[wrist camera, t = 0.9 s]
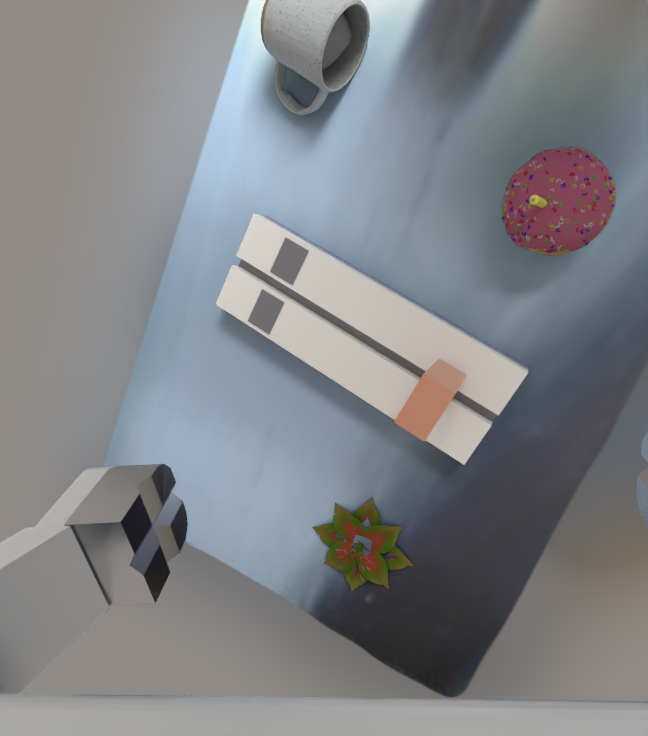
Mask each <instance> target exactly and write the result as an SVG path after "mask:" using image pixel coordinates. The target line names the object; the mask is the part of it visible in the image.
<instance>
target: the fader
mask: <svg viewBox="0 0 648 736" xmlns="http://www.w3.org/2000/svg"><path fill="white" fill-rule="evenodd" d="M465 377H466V374H464V373H463V372H461V371H459V370H458V369H456V368H454V367H453V366H451V365H449V364H448V363H446V362H444V361H443V360H441V359H438V360H437V361H436V362H435V363H434V364H433V365H432V366H431V367H430V368H429V369H428V370H427V371H426V372H425V373H424V374H423V375H422V377H421V379H420V380H419V382H418V383H417V385H416V387H415V388H414V390H413V392H412V393H411V395H410V397H409V398H408V400H407V401H406V403H405V405H404V406H403V408H402V410H401V411H400V413H399V415H398V416H397V418H396V419H395V421H394V423H396V424H397V425H399V426H400V427H402V428H403V429H405V430H406V431H408V432H409V433H411V434H412V435H414V436H416V437H417V438H419V439H420V440H422V441H423V442H425V440H426V439H427V437H428V436H429V434H430V432H431V431H432V429H433V428H434V426H435V425H436V423H437V422H438V420H439V419H440V417H441V415H442V414H443V412H444V411H445V409H446V408H447V406H448V405H449V403H450V402H451V400H452V399H453V397H454V395H455V394H456V392H457V391H458V389H459V387H460V385H461V384H462V382H463V380H464V379H465Z"/></svg>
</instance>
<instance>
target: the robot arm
mask: <svg viewBox="0 0 648 736" xmlns="http://www.w3.org/2000/svg"><path fill="white" fill-rule="evenodd" d="M641 454H642V455H643V457H644V458H645V459H646V461H647V462H648V432H647V433H646V435H645V437H644V439H643V443H642V449H641ZM175 483H176V481H175V478H174V476H173V473H172V471H171V468H170V467H168V466H166V465H164V464H152V465H131V466H115V467H112V466H110V467H96V468H90V469H87V470H84V471H83V472H82V474H81V475H80V476H79V477H78V478H77V479H76V480H75V482H74V483H73V484H72V485H71V486H70V487H69V488H68V490H67V491H66V492H65V493H64V494H63V495H62V496H61V498H60V499H59V500H58V501H57V502H56V503H55V504H54V506H53V507H52V508H51V509H50V510H49V511H48V512H47V514H46V515H45V516H44V517H43V518H42V519H41V520H40V522H39V523H38V524H37V525H36V526H35V527H31V528H26V529H24V530H22V531H20V532H18V533H17V534H15V535H13V536H11V537H10V538H8V539H6V540H5V541H3V542H1V543H0V736H648V701H647V702H646V701H645V702H644V701H568V700H565V701H564V700H486V699H484V700H481V699H410V698H407V699H406V698H404V699H403V698H333V697H331V698H329V697H327V698H325V697H255V696H253V697H252V696H175V695H168V696H167V695H94V694H19V693H20V692H22V690H24V689H25V688H26V687H27V686H28V685H29V684H30V683H31V682H32V681H33V680H34V679H35V678H36V677H37V676H38V675H40V674H41V673H42V672H43V671H44V670H45V669H46V668H47V667H48V666H49V665H50V664H51V663H52V662H53V661H55V659H57V657H59V656H60V655H61V654H62V653H63V652H64V651H65V650H66V649H67V648H68V647H69V646H70V645H72V644H73V643H74V642H75V641H76V640H77V639H78V638H79V637H80V636H81V635H82V634H83V633H84V632H85V631H86V630H87V629H88V628H90V627H91V626H92V625H93V624H94V623H95V622H96V621H97V620H98V619H99V618H100V617H101V616H102V615H103V614H104V613H105V612H107V611H108V610H109V608H110V607H109V606H115V605H135V604H136V605H137V604H155V603H156V601H157V599H158V597H159V595H160V593H161V591H162V589H163V587H164V585H165V582H166V580H167V578H168V576H169V574H170V570H169V567H168V564H167V562H168V561H170V560H171V559H172V558H173V557H175V556H176V555H177V554H178V553H180V551H181V549H182V546H183V544H184V542H185V539H186V532H187V525H188V523H187V514H186V510H185V507H184V504H183V501H182V500H181V499H179V498H178V497H177V496H176V495H175V494H173V493H172V490H173V488H174V486H175ZM637 499H638V505H639V510H640V513H641V515H642V518H643V520H644V523H645V524H646V526H647V527H648V466H647V468H645V469H644V471H642V472H641V473H640V474H639V476H638V482H637Z"/></svg>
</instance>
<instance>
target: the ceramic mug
mask: <svg viewBox="0 0 648 736" xmlns="http://www.w3.org/2000/svg"><path fill="white" fill-rule="evenodd" d="M369 30H370V21H369V14H368V11H367V8H366V6H365V5H364V4H363V3H362V2H361V1H360V0H266V1H265V4H264V7H263V11H262V17H261V34H262V40H263V43H264V45H265V47H266V49H267V50H268V52H269V53H270V54H271V55H272V56H273V57H274V58H275V59H276V60H277V61H278V62H277V65H276V70H275V88H276V91H277V94H278V97H279V99H280V101H281V102H282V104H283V105H284V106H285V107H286V108H287V109H288V110H290V111H291V112H292V113H295V114H297V115H306V114H311V113H313V112H315V111H316V110H318V109H319V108H320V107H321V106H322V104H323V102H324V101H325V99H326V97H327V95H328V93H329V92H330V93H332V92H336V91H338V90H340V89H341V88H343V87H344V86H345V85H346V84H347V83H348V82H349V81H350V79H351V78H352V76H353V75H354V73H355V72H356V70H357V68H358V67H359V64H360V62H361V60H362V58H363V55H364V52H365V50H366V47H367V42H368V37H369ZM287 67H288V68H290V69H292V70H293V71H295V72H297V73H298V74H300V75H301V76H302V77H304V78H305V79H307V80H309V81H310V82H312V83H313V84H315V85H316V86H318V87H319V93H318V95H317V96H316V98H315V100H314V101H313V103H312V104H311V105H310V106H309V107H307V108H304V107H303V106H302V105H300V104H299V103H297V102H296V101H295V100H294V99H293V97H292V96H291V95H289V94H288V92H287V88H286V77H285V76H286V69H287Z"/></svg>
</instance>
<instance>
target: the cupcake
mask: <svg viewBox="0 0 648 736" xmlns="http://www.w3.org/2000/svg"><path fill="white" fill-rule="evenodd" d="M615 200H616V191H615V184H614V181H613V178H612V176H611V175H610V173H609V172H608V170H607V169H606V167H605V166H604V164H603V163H602V162H601V161H600V160H598V159H597V158H596V157H595V156H594V155H593V154H592V153H590V152H589V151H587V150H585V149H582V148H572V147H570V148H564V147H560V149H552V150H544V151H542V152H540V153H538V154H537V155H535V156H534V157H533V158H532V159H531V160H530V161H529V162H528V163H527V164H525V165H524V166H523V167H521V168H520V169H519V170H518V171H516V172H515V173H514V175H513V176H512V178H511V180H510V182H509V184H508V186H507V188H506V191H505V194H504V198H503V205H502V214H503V217H502V219H503V221H504V224H505V228H506V231H507V234H508V236H509V237H510V238H511V239H512V241H513V242H514V243H516V244H517V245H518V246H520V247H525V248H527V249H528V250H530V251H533V252H536V253H541V254H545V255H552V256H554V255H561V254H564V253H567V252H570V251H574V250H577V249H579V248H581V247H584V246H585V245H587V244H588V243H589V242H590V241H591V240H593V239H594V238H595V237H596V236H597V235H598V234H599V233H600V232H601V231H602V230H603V229H604V227H605V226H606V224H607V223H608V220H609V218H610V216H611V213H612V211H613V209H614V206H615Z"/></svg>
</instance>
